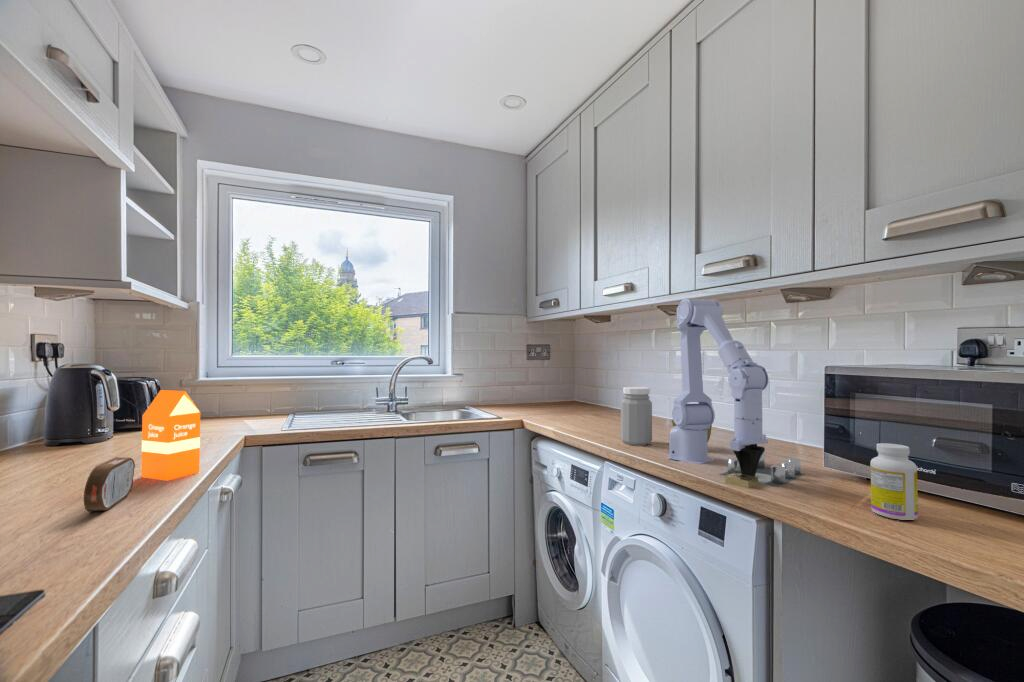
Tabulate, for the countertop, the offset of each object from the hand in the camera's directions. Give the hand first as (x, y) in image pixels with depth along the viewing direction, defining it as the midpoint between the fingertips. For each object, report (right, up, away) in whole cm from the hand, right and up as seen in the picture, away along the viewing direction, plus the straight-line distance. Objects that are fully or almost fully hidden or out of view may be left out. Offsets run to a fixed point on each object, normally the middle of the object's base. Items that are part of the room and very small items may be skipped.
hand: (748, 478), depth 105 cm
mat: (+6, -1, +6) cm, 9 cm away
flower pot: (+1, -2, +36) cm, 36 cm away
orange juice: (-135, -1, +4) cm, 135 cm away
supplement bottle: (+16, -1, -21) cm, 26 cm away
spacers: (+7, -1, +6) cm, 10 cm away
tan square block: (-3, -1, -2) cm, 4 cm away
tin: (-131, 0, -17) cm, 132 cm away
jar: (-14, -2, +44) cm, 47 cm away
